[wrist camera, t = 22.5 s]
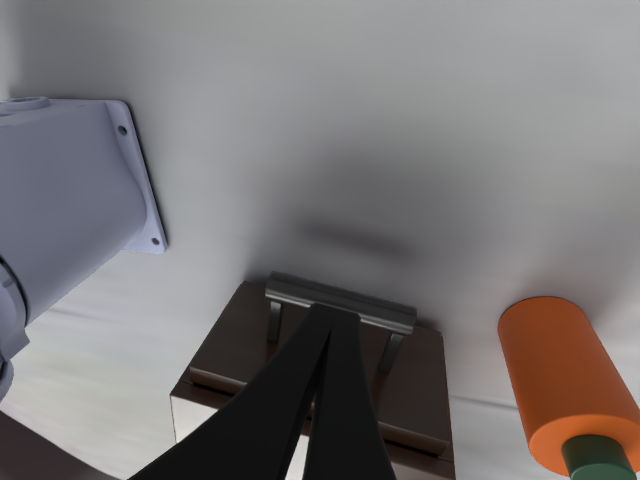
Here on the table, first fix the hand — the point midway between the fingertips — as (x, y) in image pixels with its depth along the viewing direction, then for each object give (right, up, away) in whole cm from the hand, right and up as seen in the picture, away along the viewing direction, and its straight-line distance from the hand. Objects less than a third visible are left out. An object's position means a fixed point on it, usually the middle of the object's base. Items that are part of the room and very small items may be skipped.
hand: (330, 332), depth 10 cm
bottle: (+12, -2, +11) cm, 17 cm away
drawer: (0, -5, +14) cm, 15 cm away
